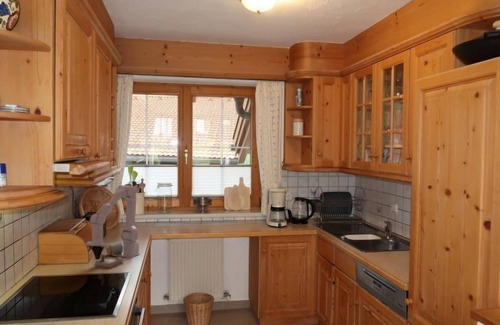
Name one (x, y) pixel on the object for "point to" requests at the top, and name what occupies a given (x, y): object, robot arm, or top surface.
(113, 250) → the ceramic mug
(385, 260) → the top surface
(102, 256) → the dial
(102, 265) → the dial plate
